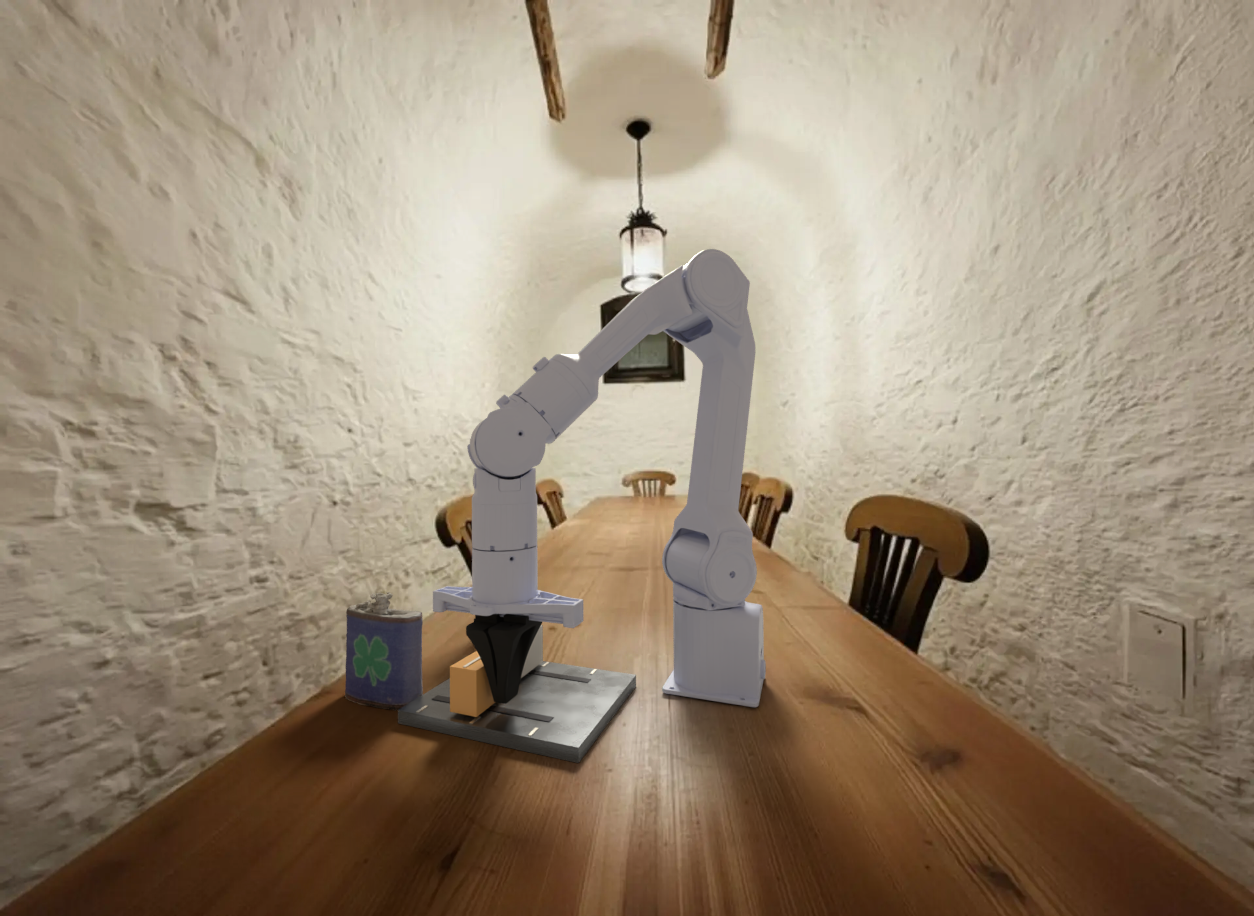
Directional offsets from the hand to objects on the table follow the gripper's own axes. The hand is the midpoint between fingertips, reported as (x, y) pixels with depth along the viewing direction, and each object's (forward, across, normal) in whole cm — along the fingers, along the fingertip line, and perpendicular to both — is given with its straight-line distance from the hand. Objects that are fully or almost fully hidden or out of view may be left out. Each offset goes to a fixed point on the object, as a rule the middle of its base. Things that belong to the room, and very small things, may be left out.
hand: (505, 697), depth 44 cm
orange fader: (+1, -3, 0) cm, 3 cm away
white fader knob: (+1, -3, +8) cm, 9 cm away
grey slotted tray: (+2, 0, +4) cm, 5 cm away
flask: (+3, -14, 0) cm, 15 cm away
